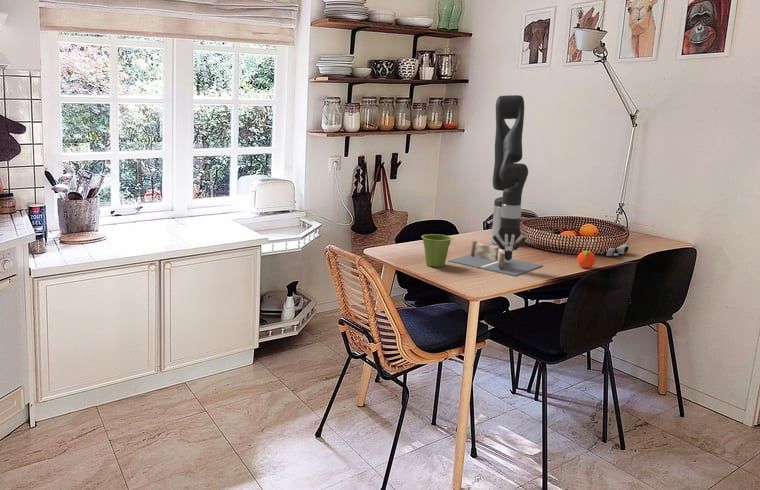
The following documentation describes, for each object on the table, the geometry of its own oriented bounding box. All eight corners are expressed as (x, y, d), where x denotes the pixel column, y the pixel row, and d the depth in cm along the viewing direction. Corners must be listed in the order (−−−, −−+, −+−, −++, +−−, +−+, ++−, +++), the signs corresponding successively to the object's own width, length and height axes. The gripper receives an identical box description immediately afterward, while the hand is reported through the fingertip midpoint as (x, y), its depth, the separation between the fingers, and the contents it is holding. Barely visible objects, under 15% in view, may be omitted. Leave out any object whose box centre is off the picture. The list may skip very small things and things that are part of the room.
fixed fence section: (470, 256, 276) (471, 241, 274) (472, 255, 277) (473, 241, 276) (494, 261, 268) (495, 246, 267) (497, 260, 270) (498, 245, 269)
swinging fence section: (496, 259, 269) (497, 246, 268) (501, 259, 269) (502, 246, 268) (498, 268, 256) (499, 254, 254) (503, 268, 255) (504, 254, 254)
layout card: (477, 252, 284) (477, 251, 284) (542, 266, 265) (542, 265, 265) (448, 261, 267) (448, 260, 267) (515, 276, 249) (515, 275, 248)
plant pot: (456, 266, 261) (458, 237, 258) (437, 270, 252) (438, 241, 250) (433, 260, 269) (435, 232, 266) (413, 264, 260) (415, 236, 258)
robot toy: (617, 262, 281) (632, 254, 292) (618, 251, 280) (632, 244, 291) (590, 256, 289) (605, 249, 300) (590, 246, 288) (605, 239, 299)
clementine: (591, 271, 260) (593, 253, 259) (573, 268, 263) (575, 251, 262) (596, 267, 267) (598, 250, 265) (578, 264, 270) (580, 247, 269)
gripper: (527, 215, 257) (524, 258, 261) (493, 213, 259) (490, 256, 263) (529, 218, 249) (525, 263, 253) (493, 216, 251) (490, 261, 255)
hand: (507, 260), depth 258 cm, fingers closed
